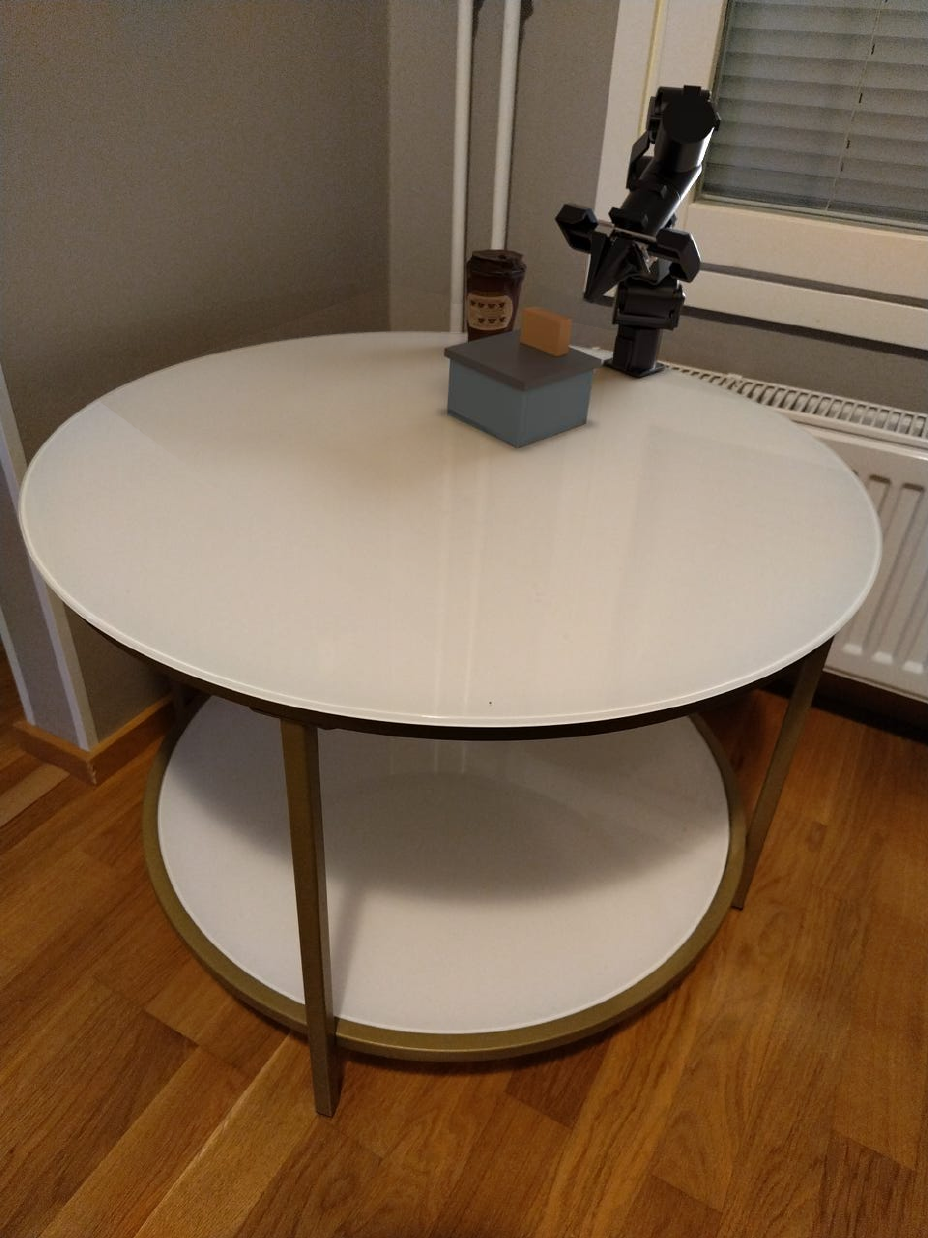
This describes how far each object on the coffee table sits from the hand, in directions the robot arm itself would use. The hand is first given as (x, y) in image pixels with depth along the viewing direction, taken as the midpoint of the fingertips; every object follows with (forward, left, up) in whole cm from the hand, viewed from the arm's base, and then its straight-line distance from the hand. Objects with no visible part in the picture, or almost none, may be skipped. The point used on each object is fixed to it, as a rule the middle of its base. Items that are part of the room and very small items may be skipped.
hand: (587, 300), depth 103 cm
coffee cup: (-5, -20, -13) cm, 24 cm away
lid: (+10, 0, -6) cm, 12 cm away
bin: (+10, 0, -13) cm, 16 cm away
